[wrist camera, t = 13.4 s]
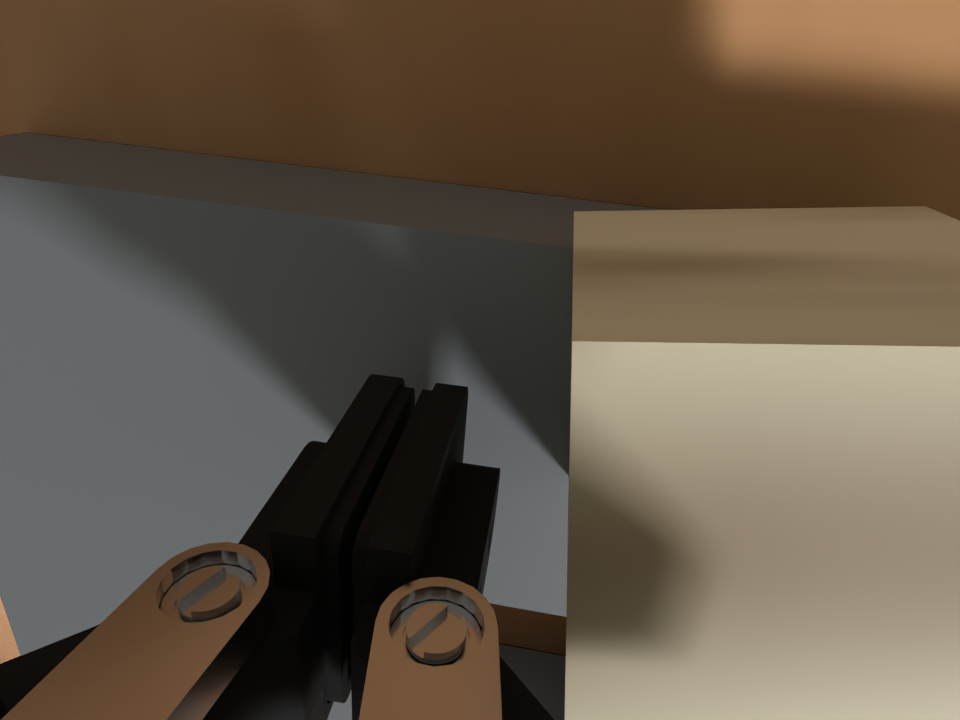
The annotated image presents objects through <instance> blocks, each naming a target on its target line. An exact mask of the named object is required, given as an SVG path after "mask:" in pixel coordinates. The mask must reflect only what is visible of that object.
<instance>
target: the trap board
mask: <svg viewBox="0 0 960 720" xmlns="http://www.w3.org/2000/svg"><path fill="white" fill-rule="evenodd" d="M636 210H664V209H656V208H648V207H639V206H631V205H623V204H615V203H606V202H598V201H590V200H581V199H573V198H565V197H556V196H548V195H540V194H531V193H523V192H515V191H507V190H498V189H490V188H482V187H473V186H465V185H457V184H448V183H440V182H432V181H423V180H415V179H407V178H399V177H390V176H382V175H374V174H365V173H357V172H349V171H340V170H332V169H324V168H315V167H307V166H299V165H290V164H282V163H274V162H266V161H257V160H249V159H241V158H232V157H224V156H216V155H207V154H199V153H191V152H182V151H174V150H166V149H158V148H149V147H141V146H133V145H124V144H116V143H108V142H99V141H91V140H83V139H74V138H66V137H58V136H50V135H41V134H33V133H22V134H14V135H7V136H0V597H1V599H2V602H3V605H4V608H5V611H6V614H7V617H8V620H9V623H10V626H11V629H12V632H13V634H14V637H15V640H16V643H17V646H18V649H19V652H20V655H21V656H22V655H24V654H27V653H29V652H32V651H34V650H37V649H39V648H42V647H44V646H47V645H49V644H52V643H54V642H57V641H59V640H62V639H64V638H67V637H69V636H72V635H74V634H77V633H79V632H82V631H84V630H87V629H89V628H92V627H94V626H97V625H99V624H101V623H102V622H103V621H104V620H105V619H106V618H107V617H108V616H109V615H110V614H111V613H112V612H113V611H114V610H115V609H116V608H117V607H118V606H119V605H120V604H121V603H122V602H124V601H125V600H126V599H127V598H128V597H129V596H130V595H131V594H132V593H133V592H134V591H135V590H136V589H137V588H138V587H139V586H140V585H141V584H142V583H143V582H144V581H145V580H146V579H147V578H148V577H149V576H150V575H152V574H153V573H154V572H155V571H156V570H157V569H158V568H159V567H160V566H162V565H163V564H164V563H166V562H167V561H168V560H169V559H171V558H172V557H174V556H176V555H178V554H180V553H182V552H184V551H186V550H188V549H190V548H193V547H197V546H201V545H205V544H208V543H220V542H231V543H237V544H238V543H239V541H240V540H241V538H242V537H243V536H244V534H245V533H246V531H247V530H248V528H249V527H250V525H251V524H252V523H253V521H254V520H255V518H256V517H257V515H258V514H259V512H260V511H261V509H262V508H263V507H264V505H265V504H266V502H267V501H268V499H269V498H270V496H271V495H272V493H273V492H274V491H275V489H276V488H277V486H278V485H279V483H280V482H281V480H282V479H283V478H284V476H285V475H286V473H287V472H288V470H289V469H290V467H291V466H292V464H293V463H294V462H295V460H296V459H297V457H298V456H299V454H300V453H301V451H302V450H303V448H304V447H305V446H306V445H307V444H308V443H309V442H311V441H319V442H327V441H328V439H329V438H330V436H331V435H332V433H333V432H334V430H335V428H336V427H337V425H338V424H339V422H340V421H341V419H342V418H343V416H344V414H345V413H346V411H347V410H348V408H349V407H350V405H351V403H352V402H353V400H354V399H355V397H356V396H357V394H358V393H359V391H360V389H361V388H362V386H363V385H364V383H365V382H366V380H367V378H368V377H369V376H370V375H371V374H377V375H385V376H392V377H399V378H403V379H404V381H405V387H411V388H414V389H415V404H416V402H417V400H418V398H419V395H420V393H421V391H422V390H423V389H425V390H433V388H434V385H435V384H436V383H443V384H450V385H457V386H465V387H468V405H467V418H466V430H465V442H464V455H463V463H467V464H474V465H481V466H488V467H494V468H500V480H499V489H498V498H497V506H496V515H495V522H494V529H493V536H492V543H491V549H490V555H489V561H488V567H487V573H486V579H485V584H484V590H483V596H485V597H486V599H487V600H488V602H489V603H491V604H497V605H502V606H508V607H513V608H519V609H525V610H530V611H536V612H542V613H547V614H553V615H559V616H564V617H566V609H567V552H568V496H569V443H570V391H571V340H572V289H573V237H574V211H636ZM499 655H500V657H501V658H502V659H503V660H504V661H505V662H506V664H507V665H508V666H509V667H510V668H511V670H512V671H513V672H514V673H515V674H516V675H517V677H518V678H519V679H520V680H521V681H522V682H523V684H524V685H525V686H526V687H527V688H528V689H529V691H530V692H531V693H532V694H533V695H534V696H535V698H536V699H537V700H538V701H539V702H540V703H541V705H542V706H543V707H544V708H545V709H546V710H547V712H548V713H549V714H550V715H551V716H552V717H553V719H554V720H565V665H566V656H562V655H557V654H551V653H546V652H540V651H535V650H529V649H524V648H518V647H513V646H507V645H502V644H499ZM327 720H352V696H351V692H350V694H349V697H348V699H347V701H346V702H345V703H339V702H334V703H333V705H332V708H331V711H330V713H329V716H328V719H327Z"/></svg>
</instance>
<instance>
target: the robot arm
mask: <svg viewBox="0 0 960 720" xmlns="http://www.w3.org/2000/svg"><path fill="white" fill-rule="evenodd" d="M467 405H468V387H465V386H457V385H450V384H443V383H436V384H435V385H434V388H433V390H425V389H423V390H422V391H421V393H420V395H419V398H418V400H417V402H416V404H415V389H414V388H411V387H405V381H404V379H403V378H399V377H392V376H385V375H377V374H371V375H370V376H369V377H368V378H367V380H366V382H365V383H364V385H363V386H362V388H361V389H360V391H359V393H358V394H357V396H356V397H355V399H354V400H353V402H352V403H351V405H350V407H349V408H348V410H347V411H346V413H345V414H344V416H343V418H342V419H341V421H340V422H339V424H338V425H337V427H336V428H335V430H334V432H333V433H332V435H331V436H330V438H329V439H328V441H327V442H319V441H311V442H309V443H308V444H307V445H306V446H305V447H304V448H303V450H302V451H301V453H300V454H299V456H298V457H297V459H296V460H295V462H294V463H293V464H292V466H291V467H290V469H289V470H288V472H287V473H286V475H285V476H284V478H283V479H282V480H281V482H280V483H279V485H278V486H277V488H276V489H275V491H274V492H273V493H272V495H271V496H270V498H269V499H268V501H267V502H266V504H265V505H264V507H263V508H262V509H261V511H260V512H259V514H258V515H257V517H256V518H255V520H254V521H253V523H252V524H251V525H250V527H249V528H248V530H247V531H246V533H245V534H244V536H243V537H242V538H241V540H240V541H239V543H238V544H237V543H231V542H220V543H208V544H205V545H201V546H197V547H193V548H190V549H188V550H186V551H184V552H182V553H180V554H178V555H176V556H174V557H172V558H171V559H169V560H168V561H167V562H166V563H164V564H163V565H162V566H160V567H159V568H158V569H157V570H156V571H155V572H154V573H153V574H152V575H150V576H149V577H148V578H147V579H146V580H145V581H144V582H143V583H142V584H141V585H140V586H139V587H138V588H137V589H136V590H135V591H134V592H133V593H132V594H131V595H130V596H129V597H128V598H127V599H126V600H125V601H124V602H122V603H121V604H120V605H119V606H118V607H117V608H116V609H115V610H114V611H113V612H112V613H111V614H110V615H109V616H108V617H107V618H106V619H105V620H104V621H103V622H102V623H101V624H99V625H97V626H94V627H92V628H89V629H87V630H84V631H82V632H79V633H77V634H74V635H72V636H69V637H67V638H64V639H62V640H59V641H57V642H54V643H52V644H49V645H47V646H44V647H42V648H39V649H37V650H34V651H32V652H29V653H27V654H24V655H22V656H19V657H17V658H14V659H12V660H9V661H7V662H4V663H2V664H0V720H327V719H328V716H329V713H330V711H331V708H332V705H333V703H334V702H339V703H345V702H346V701H347V699H348V697H349V694H350V692H351V696H352V720H554V719H553V717H552V716H551V715H550V714H549V713H548V712H547V710H546V709H545V708H544V707H543V706H542V705H541V703H540V702H539V701H538V700H537V699H536V698H535V696H534V695H533V694H532V693H531V692H530V691H529V689H528V688H527V687H526V686H525V685H524V684H523V682H522V681H521V680H520V679H519V678H518V677H517V675H516V674H515V673H514V672H513V671H512V670H511V668H510V667H509V666H508V665H507V664H506V662H505V661H504V660H503V659H502V658H501V657H500V655H499V639H498V624H497V620H496V616H495V611H494V610H493V608H492V606H491V605H490V603H489V602H488V600H487V599H486V597H485V596H483V590H484V584H485V579H486V573H487V567H488V561H489V555H490V549H491V543H492V536H493V529H494V522H495V515H496V506H497V498H498V489H499V480H500V468H494V467H488V466H481V465H474V464H467V463H463V455H464V442H465V430H466V418H467Z"/></svg>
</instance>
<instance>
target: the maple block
mask: <svg viewBox="0 0 960 720" xmlns="http://www.w3.org/2000/svg"><path fill="white" fill-rule="evenodd" d="M565 720H960V221H959V220H957V219H955V218H952V217H950V216H947V215H945V214H943V213H940V212H938V211H936V210H933V209H931V208H929V207H926V206H903V207H836V208H769V209H702V210H636V211H574V237H573V289H572V340H571V391H570V443H569V496H568V552H567V609H566V665H565Z"/></svg>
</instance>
